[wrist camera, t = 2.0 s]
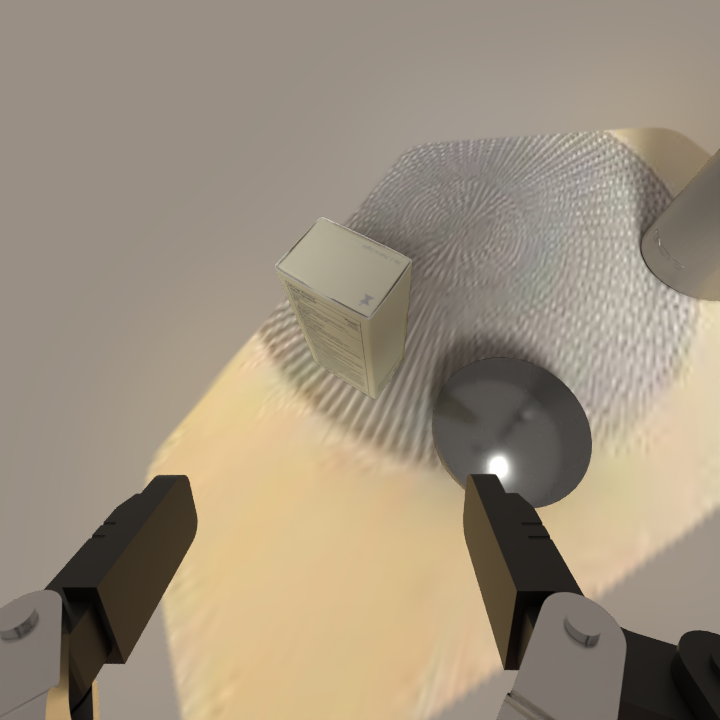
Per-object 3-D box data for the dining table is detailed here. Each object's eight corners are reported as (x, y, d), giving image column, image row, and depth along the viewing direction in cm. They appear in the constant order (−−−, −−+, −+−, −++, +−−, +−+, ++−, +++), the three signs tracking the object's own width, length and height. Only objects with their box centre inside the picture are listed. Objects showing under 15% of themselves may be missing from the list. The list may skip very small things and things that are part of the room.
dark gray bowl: (538, 363, 30) (555, 346, 27) (593, 495, 25) (619, 491, 23) (414, 386, 29) (418, 370, 26) (449, 524, 25) (458, 523, 22)
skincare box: (404, 359, 30) (420, 259, 19) (374, 403, 29) (372, 323, 18) (341, 322, 32) (322, 211, 21) (309, 362, 30) (270, 265, 19)
